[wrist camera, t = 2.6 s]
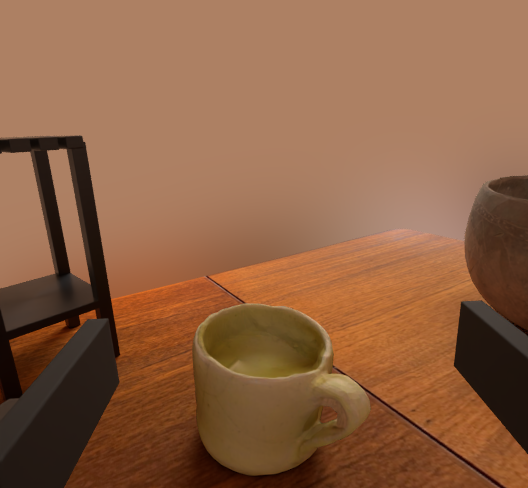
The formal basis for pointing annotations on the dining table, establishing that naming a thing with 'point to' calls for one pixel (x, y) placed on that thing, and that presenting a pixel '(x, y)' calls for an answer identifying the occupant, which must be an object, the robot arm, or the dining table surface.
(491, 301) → the bowl
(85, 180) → the rack
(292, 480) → the dining table surface
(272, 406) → the mug
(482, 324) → the robot arm
